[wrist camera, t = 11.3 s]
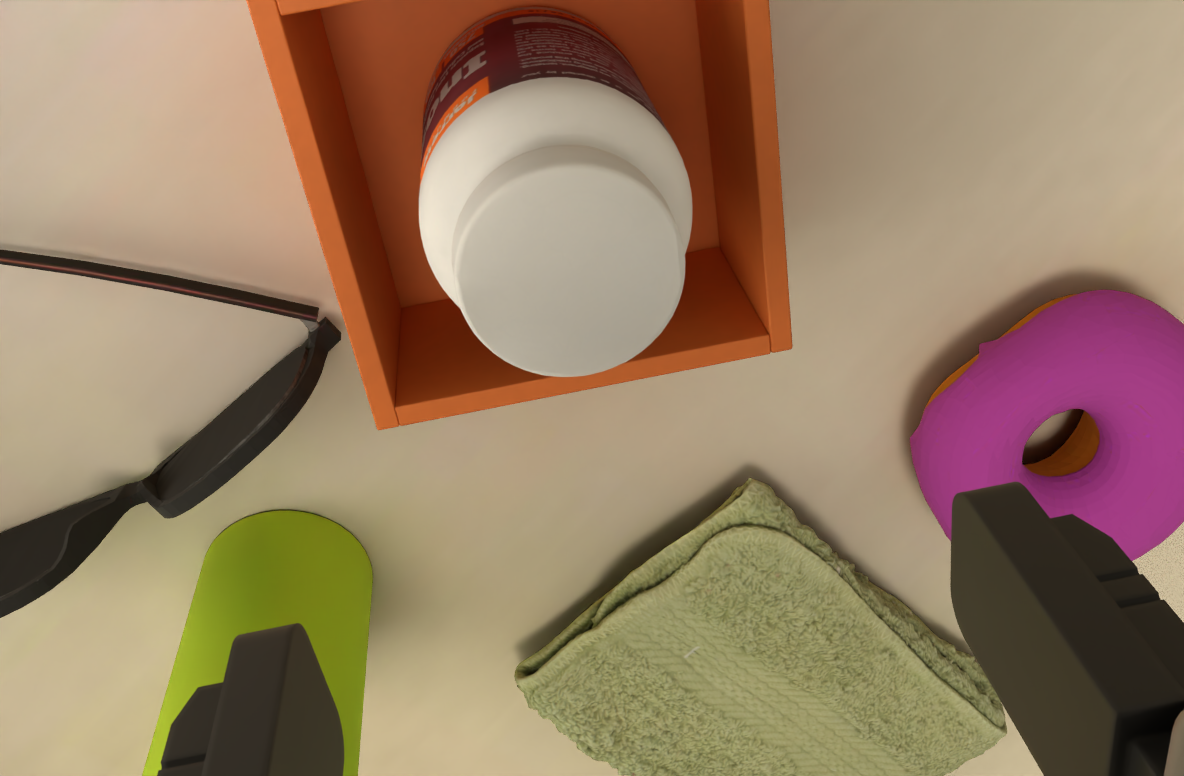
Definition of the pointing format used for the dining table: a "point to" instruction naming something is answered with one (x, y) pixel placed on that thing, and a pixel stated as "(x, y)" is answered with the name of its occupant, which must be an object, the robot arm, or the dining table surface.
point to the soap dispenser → (278, 612)
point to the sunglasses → (194, 471)
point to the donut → (1056, 384)
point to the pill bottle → (551, 194)
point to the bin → (392, 179)
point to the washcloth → (760, 663)
